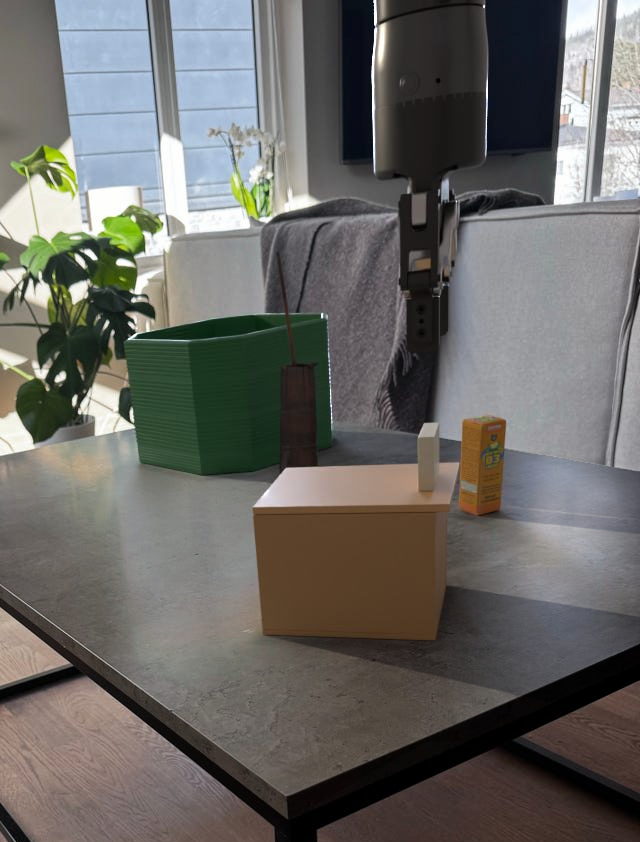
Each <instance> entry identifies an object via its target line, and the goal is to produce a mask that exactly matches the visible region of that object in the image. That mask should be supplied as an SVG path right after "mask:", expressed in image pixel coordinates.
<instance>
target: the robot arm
mask: <svg viewBox="0 0 640 842" xmlns="http://www.w3.org/2000/svg"><path fill="white" fill-rule="evenodd" d="M373 3H374V27H375V28H374V42H373V53H372V63H371V64H372V65H371V85H372V86H371V87H372V88H371V89H372V93H371V94H372V139H373V140H372V141H373V142H372V143H373V174H374V177H375V178H376V179H377V180H378V181H380V182H381V181H382V182H383V181H384V182H385V181H394V180H402V179H403V180H406V182H407V184H408V185H407V193H401V194H400V196H399V200H398V201H397V202H398V203H397V207H398V209H397V219H396V223H397V229H398V235H399V241H398V242H399V243H398V254H397V257H398V263H399V274H400V275H399V277H398V286H399V288H400V292H401V294H403V299H406V300H405V306H406V307H405V309H406V310H405V313H406V314H405V317H406V321H405V322H406V325H405V326H406V350H407V352H408V353H409V354H411V355H412V354H413V355H414V354H415V355H416V354H430V353H434V352H436V351H438V349H439V347H440V345H441V343H440V342H441V337H444V336H445V335H446V334H447V333H448V332H449V330H450V284H448V283H451V282H452V278H454V268H455V266H456V260H455V259H456V258H457V251H458V227H459V226H460V225H459V224H460V209H461V208H460V200H459V199H458V200H456V193H454V188H450V183H449V179H450V177H451V175H452V174H453V173H455V172H459V171H467V170H473V169H478V168H479V167H481V166H482V165H483V164H484V163H485V162H486V159H487V127H488V126H487V122H488V121H487V119H488V118H487V117H488V79H489V78H488V77H489V41H488V31H487V30H488V29H487V22H486V8H485V7H486V0H373Z"/></svg>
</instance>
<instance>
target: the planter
mask: <svg viewBox="0 0 640 842" xmlns="http://www.w3.org/2000/svg"><path fill="white" fill-rule="evenodd" d="M288 313H289V312H288ZM289 319H290V324H291V331H292V338H293V343H294V346H293V347H294V351H295V356H296V363H304V364H311V363H312V362H314V361H316V362H318V364H317V365H316V366H315V367H314V375H315V383H316V407H317V410H316V413H317V443H318V448H317V451H318V452H319V451H323V450H327V449H329V448H332V447H333V445H334V444H333V443H334V442H333V440H334V439H333V412H332V411H333V409H332V408H333V407H332V387H331V386H332V385H331V384H332V383H331V362H330V343H329V342H330V341H329V320H328V319H329V317H328V314H327V313H325V312H301V313H300V312H299V313H297V312H296V313H293V312H292V313H289ZM123 345H124V346H123V348H124V353H125V354H124V357H125V361H126V362H125V364H126V369H127V370H126V372H127V375H128V378H127V380H128V385H129V386H128V387H129V392H130V394H129V395H130V396H131V397H130V400H131V401H130V403H131V408H132V416H133V424H134V425H133V427H134V431H135V432H134V434H135V435H136V436H135V442H136V444H137V445H136V446H137V453H138V454H137V455H138V461H139V462H140V463H141V464H147V465H151V466H155V467H160V468H166V469H170V470H175V471H181V472H185V473H189V474H194V475H200V476H208V475H209V476H210V475H222V474H235V473H247V472H249V473H250V472H255V471H258V470H261V469H265V468H268V467H271V466H274V465H278V464H280V415H281V414H280V409H281V401H280V400H281V397H280V386H281V382H280V377H281V366H287V365H292V359H291V352H290V346H289V339H288V332H287V325H286V317H285V313H251V314H243V315H233V316H224V317H215V318H209V319H204V320H200V321H193V322H189V323H184V324H183V323H182V324H178V325H173V326H170V327H168V326H167V327H163V328H158V329H154V330H148V331H143V332H139V333H138V332H137V333H135V334H133V335H132V336H130V337H129V338H127V339H126V340H124V341H123Z"/></svg>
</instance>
